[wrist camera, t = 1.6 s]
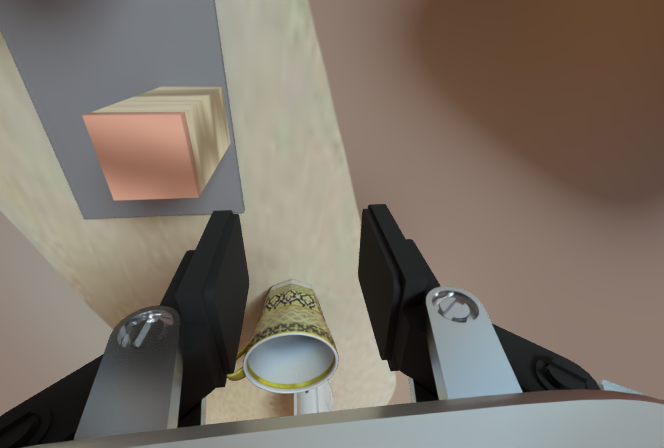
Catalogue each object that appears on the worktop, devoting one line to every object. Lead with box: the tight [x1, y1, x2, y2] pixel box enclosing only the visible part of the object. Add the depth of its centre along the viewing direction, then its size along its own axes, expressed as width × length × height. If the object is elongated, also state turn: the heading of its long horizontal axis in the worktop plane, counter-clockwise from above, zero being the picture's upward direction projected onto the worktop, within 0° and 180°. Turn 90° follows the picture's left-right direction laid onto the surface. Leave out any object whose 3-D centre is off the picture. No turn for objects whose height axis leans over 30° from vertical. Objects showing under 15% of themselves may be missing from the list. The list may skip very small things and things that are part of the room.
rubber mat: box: [0, 0, 245, 219], centre depth 28 cm, size 20×16×1 cm
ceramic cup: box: [227, 280, 339, 394], centre depth 37 cm, size 13×10×10 cm
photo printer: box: [294, 381, 334, 415], centre depth 45 cm, size 10×4×12 cm, turn 15°
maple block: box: [82, 86, 230, 201], centre depth 23 cm, size 5×5×12 cm
